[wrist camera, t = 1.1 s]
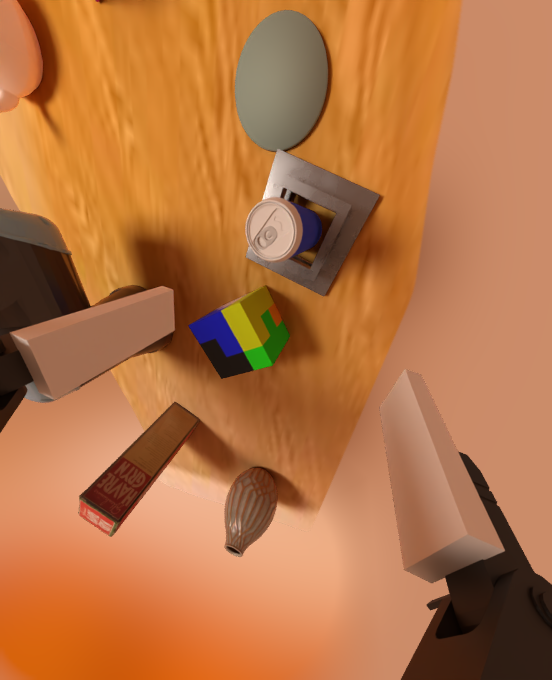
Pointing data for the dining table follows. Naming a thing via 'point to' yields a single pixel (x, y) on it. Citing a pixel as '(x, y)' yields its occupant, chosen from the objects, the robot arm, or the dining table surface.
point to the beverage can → (281, 229)
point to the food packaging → (136, 470)
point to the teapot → (17, 56)
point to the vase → (249, 509)
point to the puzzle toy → (242, 334)
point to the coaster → (281, 80)
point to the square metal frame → (330, 194)
